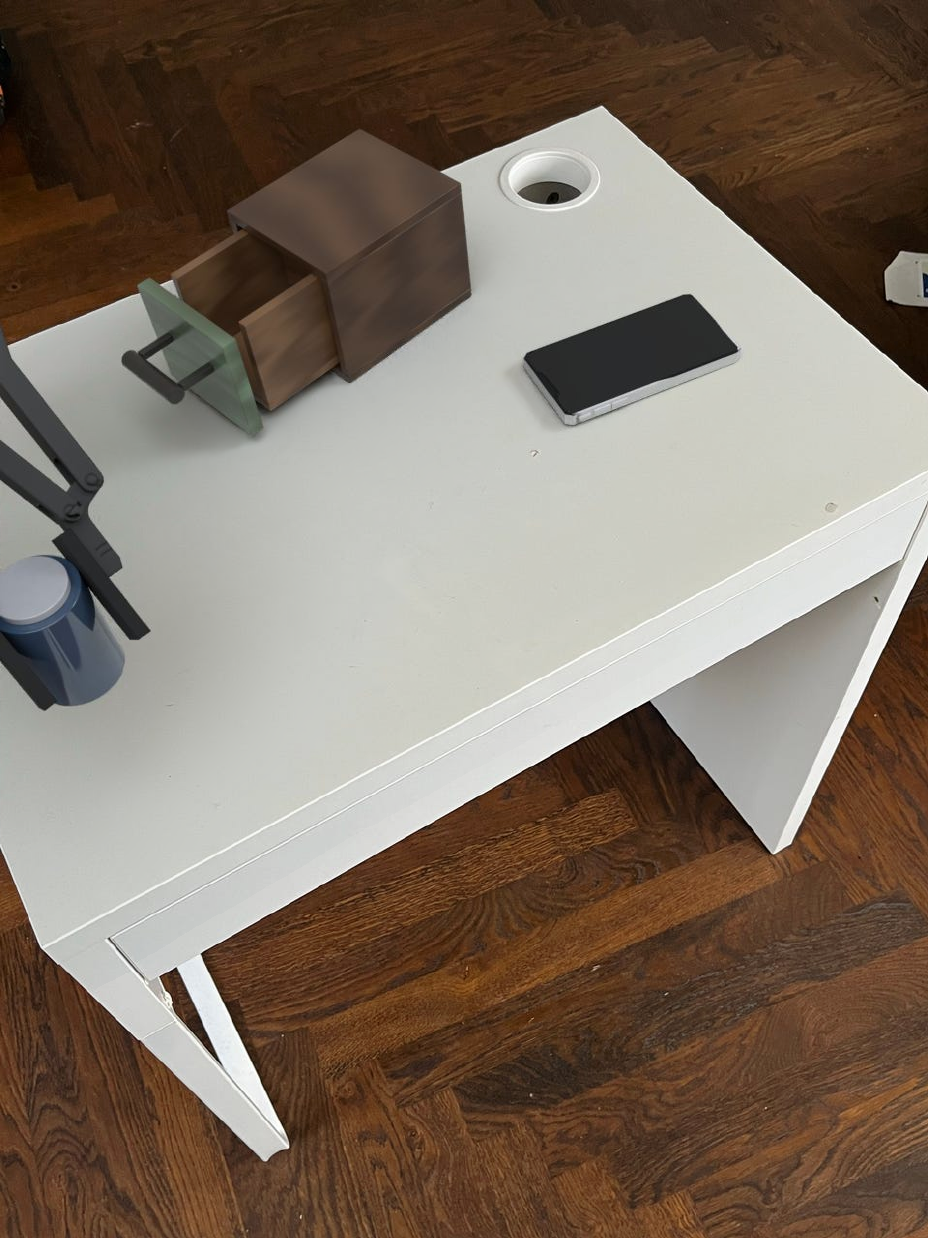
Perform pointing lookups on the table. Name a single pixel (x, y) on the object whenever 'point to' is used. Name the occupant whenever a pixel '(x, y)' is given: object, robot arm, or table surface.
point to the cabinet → (368, 242)
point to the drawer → (237, 330)
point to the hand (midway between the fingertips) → (94, 668)
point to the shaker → (59, 629)
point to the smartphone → (630, 358)
